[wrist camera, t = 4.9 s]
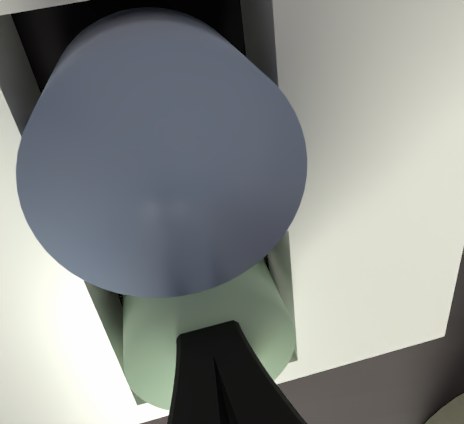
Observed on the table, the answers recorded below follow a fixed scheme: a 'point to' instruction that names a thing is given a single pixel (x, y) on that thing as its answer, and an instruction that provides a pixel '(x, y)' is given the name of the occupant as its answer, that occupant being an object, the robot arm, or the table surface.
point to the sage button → (200, 316)
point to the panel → (305, 221)
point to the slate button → (159, 157)
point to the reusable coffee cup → (450, 413)
